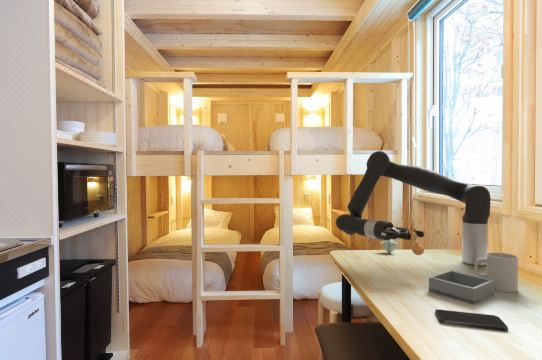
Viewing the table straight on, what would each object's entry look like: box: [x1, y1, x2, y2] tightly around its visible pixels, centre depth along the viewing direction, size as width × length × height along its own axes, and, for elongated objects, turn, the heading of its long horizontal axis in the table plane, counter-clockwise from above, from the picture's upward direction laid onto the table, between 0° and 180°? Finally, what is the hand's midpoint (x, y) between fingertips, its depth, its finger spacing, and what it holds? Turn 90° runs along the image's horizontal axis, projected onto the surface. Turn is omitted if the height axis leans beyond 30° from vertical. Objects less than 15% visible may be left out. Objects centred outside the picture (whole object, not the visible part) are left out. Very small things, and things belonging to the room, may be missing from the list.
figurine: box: [405, 221, 425, 256], centre depth 120 cm, size 8×6×12 cm
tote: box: [428, 269, 495, 305], centre depth 105 cm, size 14×14×4 cm
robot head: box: [380, 239, 399, 254], centre depth 159 cm, size 8×4×7 cm, turn 66°
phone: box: [434, 308, 509, 332], centre depth 85 cm, size 8×1×15 cm
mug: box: [474, 251, 519, 294], centre depth 110 cm, size 12×8×11 cm
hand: (417, 235), depth 119 cm, fingers closed on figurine, 7 cm apart
